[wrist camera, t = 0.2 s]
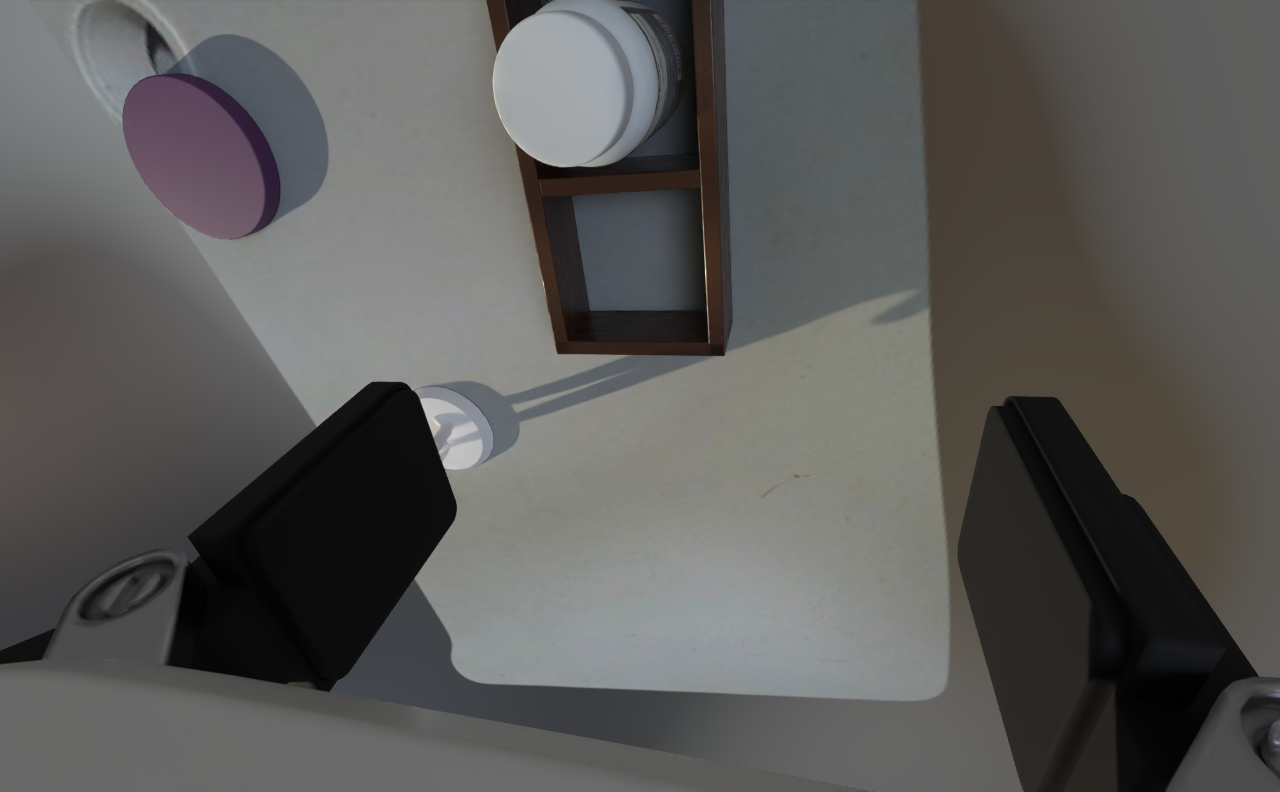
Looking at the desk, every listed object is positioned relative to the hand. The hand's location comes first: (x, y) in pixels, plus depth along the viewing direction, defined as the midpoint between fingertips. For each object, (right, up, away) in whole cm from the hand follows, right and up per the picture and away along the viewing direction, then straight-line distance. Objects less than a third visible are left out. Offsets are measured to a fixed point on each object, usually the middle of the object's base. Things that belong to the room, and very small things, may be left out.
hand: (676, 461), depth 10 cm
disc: (-26, +15, +25) cm, 39 cm away
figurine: (-14, -1, +33) cm, 36 cm away
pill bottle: (-1, +16, +18) cm, 24 cm away
